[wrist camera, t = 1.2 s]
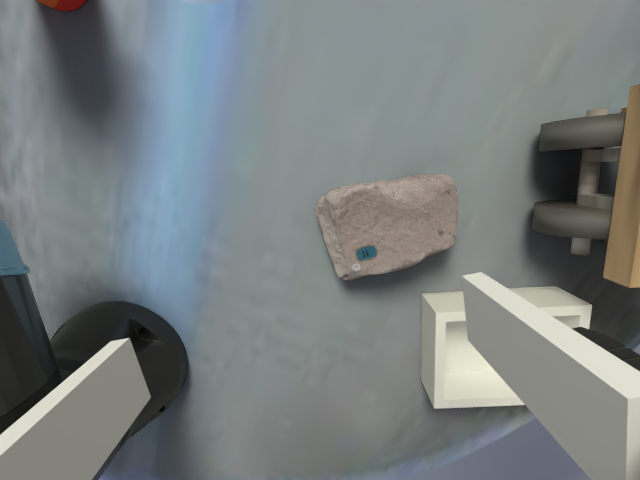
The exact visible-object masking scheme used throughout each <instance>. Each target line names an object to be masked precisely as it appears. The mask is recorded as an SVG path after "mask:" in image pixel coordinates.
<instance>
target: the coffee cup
mask: <svg viewBox="0 0 640 480" xmlns="http://www.w3.org/2000/svg"><path fill="white" fill-rule="evenodd" d="M36 1H38V2H40V3H42V4H44V5H46V6H49V7H51V8H53V9H56V10H59V11H66V12H67V11H74V10H76V9H78V8H80V7H81V6H83V5H84V4H85V3H86V1H87V0H36Z"/></svg>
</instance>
